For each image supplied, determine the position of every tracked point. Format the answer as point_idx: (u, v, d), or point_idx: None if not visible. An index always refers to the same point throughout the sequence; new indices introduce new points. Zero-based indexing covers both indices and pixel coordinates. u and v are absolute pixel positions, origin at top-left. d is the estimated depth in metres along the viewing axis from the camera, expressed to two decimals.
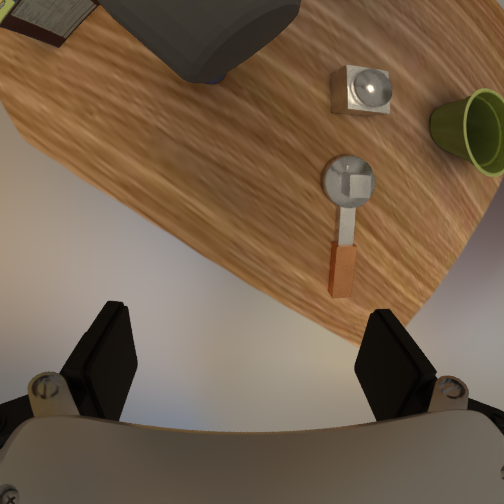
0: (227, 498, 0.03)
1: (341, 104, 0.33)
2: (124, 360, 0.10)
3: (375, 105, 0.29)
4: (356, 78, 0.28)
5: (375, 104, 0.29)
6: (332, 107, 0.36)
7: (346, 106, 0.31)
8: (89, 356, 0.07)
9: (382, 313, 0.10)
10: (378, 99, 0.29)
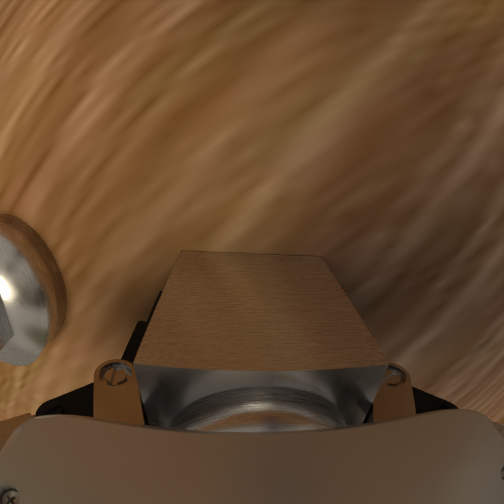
0: (227, 498, 0.03)
1: (185, 304, 0.08)
2: None
3: None
4: None
5: None
6: (199, 254, 0.12)
7: (152, 346, 0.06)
8: None
9: None
10: None
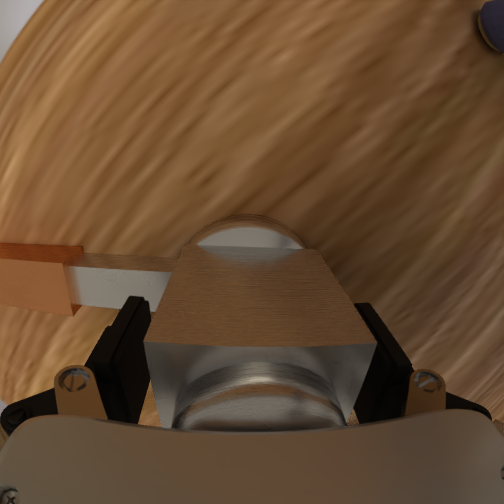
0: (227, 498, 0.03)
1: (190, 291, 0.09)
2: (145, 353, 0.10)
3: None
4: (308, 408, 0.06)
5: None
6: (202, 247, 0.12)
7: (160, 327, 0.07)
8: (116, 349, 0.08)
9: (361, 307, 0.11)
10: None
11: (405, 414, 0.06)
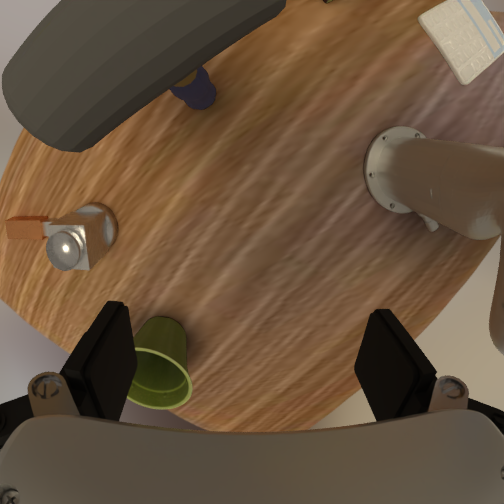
0: (227, 498, 0.03)
1: (62, 219, 0.33)
2: (124, 360, 0.10)
3: (47, 251, 0.30)
4: (65, 234, 0.29)
5: (48, 251, 0.30)
6: (75, 212, 0.36)
7: (51, 223, 0.31)
8: (89, 356, 0.07)
9: (382, 313, 0.10)
10: (52, 255, 0.30)
11: None
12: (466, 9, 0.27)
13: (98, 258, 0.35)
